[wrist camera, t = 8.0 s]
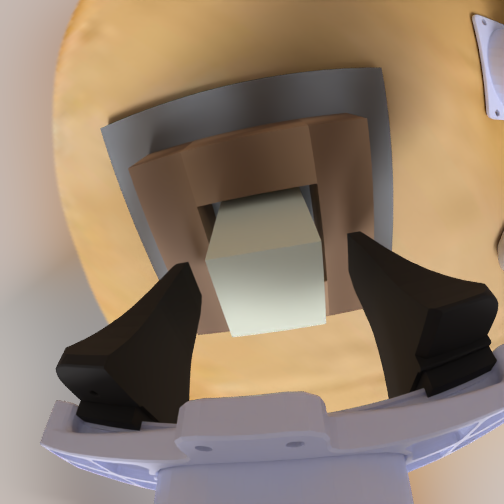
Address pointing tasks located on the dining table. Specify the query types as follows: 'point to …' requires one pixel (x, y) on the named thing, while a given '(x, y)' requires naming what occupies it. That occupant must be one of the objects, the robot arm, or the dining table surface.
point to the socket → (260, 168)
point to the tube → (501, 252)
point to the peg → (267, 263)
